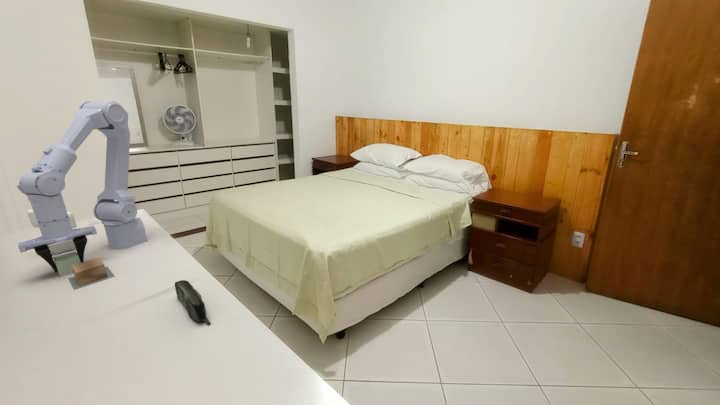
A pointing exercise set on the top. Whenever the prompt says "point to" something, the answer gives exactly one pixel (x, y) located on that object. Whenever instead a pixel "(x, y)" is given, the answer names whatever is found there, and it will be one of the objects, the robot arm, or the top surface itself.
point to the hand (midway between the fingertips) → (69, 267)
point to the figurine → (59, 246)
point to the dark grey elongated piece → (191, 301)
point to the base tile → (76, 285)
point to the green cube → (66, 262)
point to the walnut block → (89, 271)
